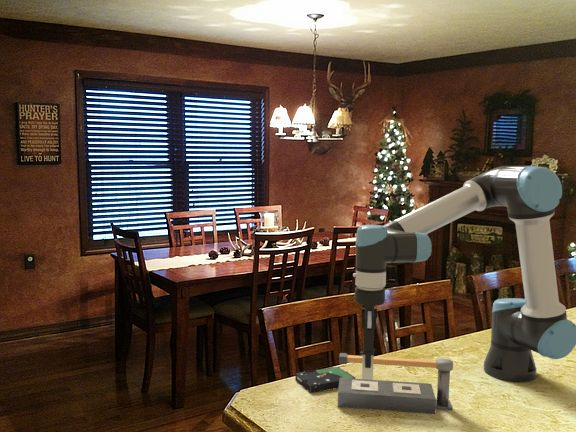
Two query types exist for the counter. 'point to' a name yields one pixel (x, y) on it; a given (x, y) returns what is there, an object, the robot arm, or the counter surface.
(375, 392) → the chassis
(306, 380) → the disk drive
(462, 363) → the counter surface
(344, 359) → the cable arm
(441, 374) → the pivot post
